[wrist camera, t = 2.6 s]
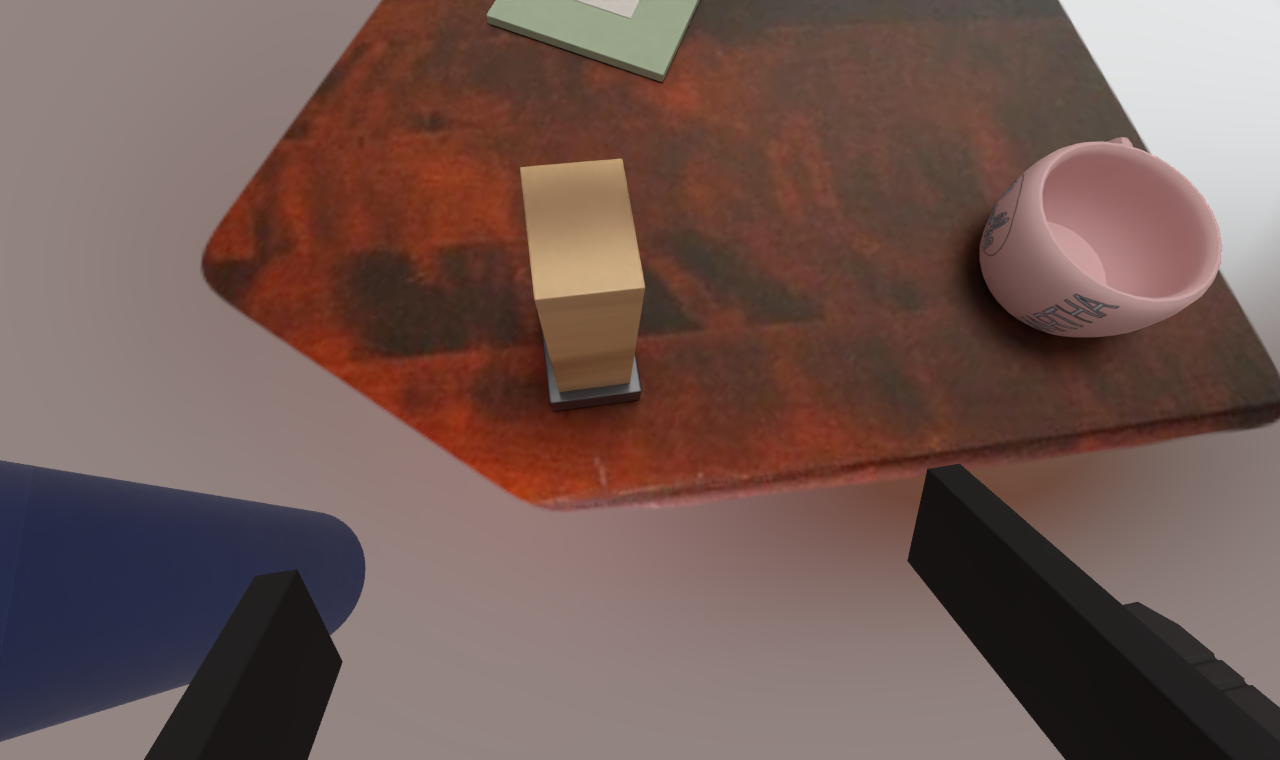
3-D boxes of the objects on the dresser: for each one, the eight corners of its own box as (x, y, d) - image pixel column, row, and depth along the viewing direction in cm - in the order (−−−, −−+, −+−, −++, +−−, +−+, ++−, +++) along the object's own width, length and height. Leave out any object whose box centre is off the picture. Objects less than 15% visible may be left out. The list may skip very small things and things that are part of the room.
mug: (1109, 385, 30) (1225, 345, 24) (937, 315, 31) (1012, 261, 25) (1134, 216, 34) (1240, 148, 28) (980, 157, 34) (1053, 79, 29)
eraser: (640, 400, 28) (663, 300, 17) (552, 412, 28) (519, 316, 17) (623, 295, 30) (634, 144, 19) (540, 304, 29) (503, 155, 18)
